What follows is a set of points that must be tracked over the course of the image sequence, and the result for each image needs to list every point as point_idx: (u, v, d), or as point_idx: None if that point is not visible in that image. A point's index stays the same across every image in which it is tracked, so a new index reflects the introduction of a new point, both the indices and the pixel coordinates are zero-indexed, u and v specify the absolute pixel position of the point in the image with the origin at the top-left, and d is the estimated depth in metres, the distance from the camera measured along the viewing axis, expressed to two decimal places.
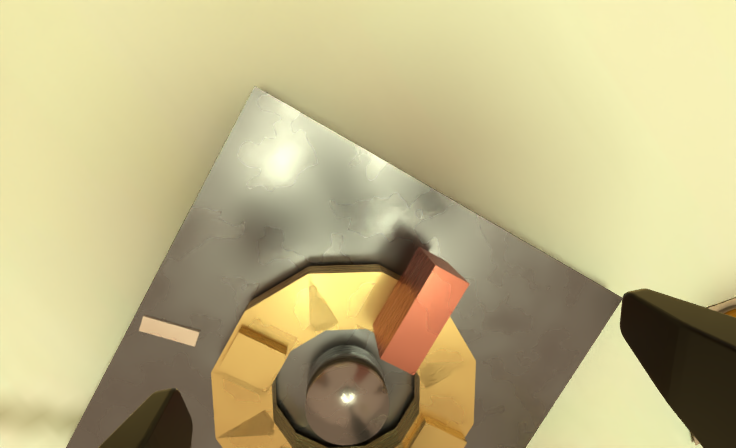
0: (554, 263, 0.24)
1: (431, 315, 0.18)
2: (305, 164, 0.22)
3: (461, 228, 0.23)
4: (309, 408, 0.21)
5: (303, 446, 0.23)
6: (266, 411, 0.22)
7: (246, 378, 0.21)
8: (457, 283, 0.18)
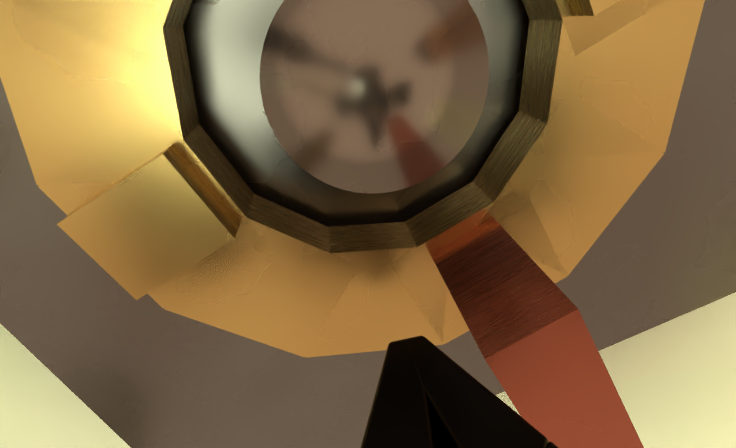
0: None
1: (577, 432, 0.08)
2: (709, 248, 0.13)
3: None
4: None
5: None
6: None
7: None
8: None
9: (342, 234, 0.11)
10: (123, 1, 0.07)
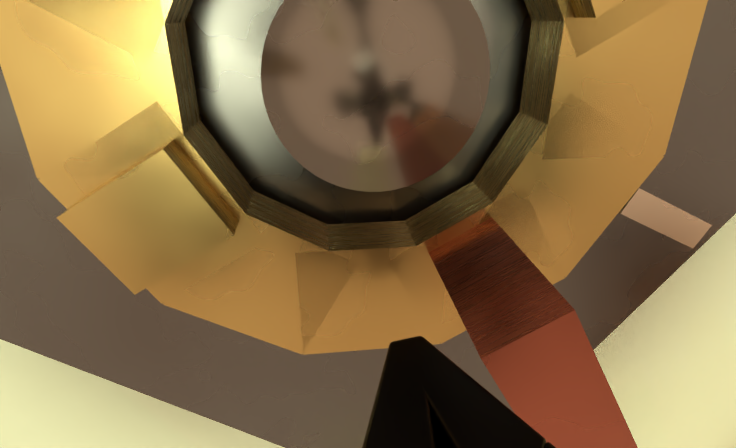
0: None
1: (572, 433, 0.08)
2: None
3: (120, 353, 0.13)
4: (476, 94, 0.08)
5: None
6: None
7: None
8: None
9: (341, 232, 0.11)
10: None
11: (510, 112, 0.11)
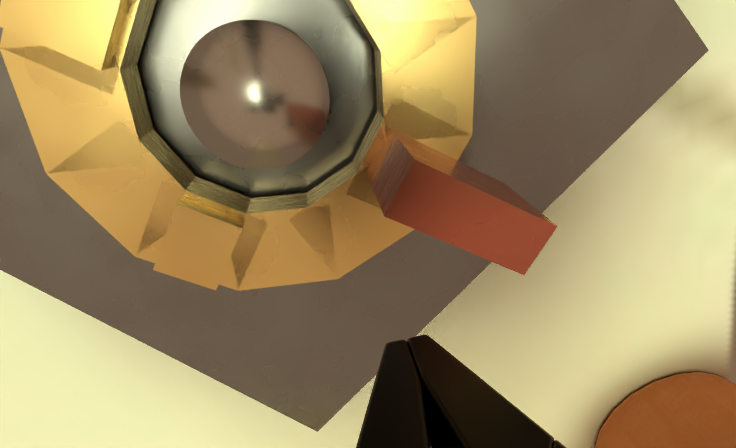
0: None
1: (482, 230, 0.12)
2: (278, 366, 0.19)
3: (73, 280, 0.17)
4: (321, 112, 0.13)
5: (142, 17, 0.12)
6: None
7: None
8: (526, 259, 0.12)
9: (314, 192, 0.15)
10: (113, 138, 0.13)
11: None
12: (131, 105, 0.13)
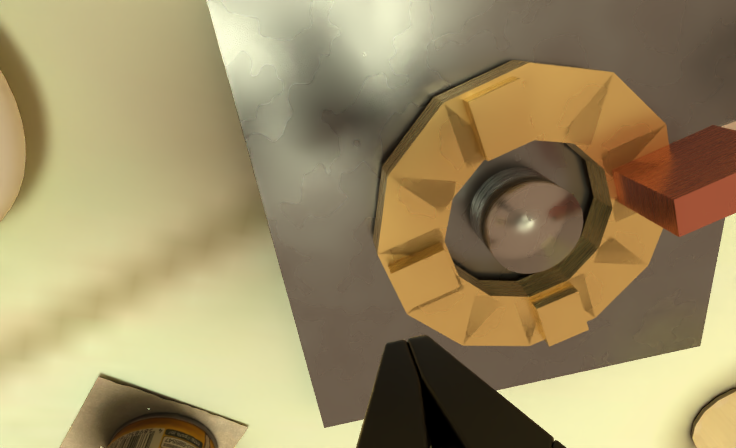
0: None
1: None
2: (641, 330, 0.25)
3: (495, 376, 0.25)
4: (574, 205, 0.18)
5: None
6: (456, 184, 0.18)
7: (484, 134, 0.17)
8: None
9: (589, 233, 0.21)
10: (479, 305, 0.21)
11: (585, 169, 0.21)
12: (473, 284, 0.20)
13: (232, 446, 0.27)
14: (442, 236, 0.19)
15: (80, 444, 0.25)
